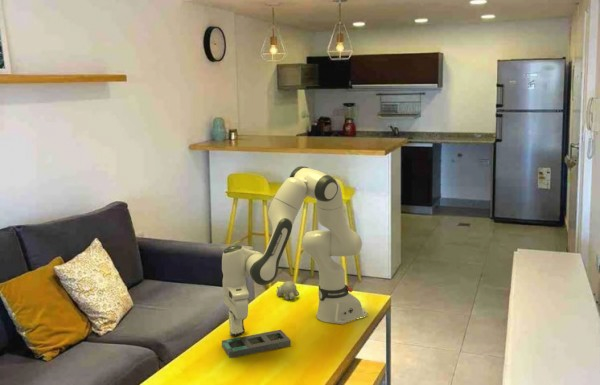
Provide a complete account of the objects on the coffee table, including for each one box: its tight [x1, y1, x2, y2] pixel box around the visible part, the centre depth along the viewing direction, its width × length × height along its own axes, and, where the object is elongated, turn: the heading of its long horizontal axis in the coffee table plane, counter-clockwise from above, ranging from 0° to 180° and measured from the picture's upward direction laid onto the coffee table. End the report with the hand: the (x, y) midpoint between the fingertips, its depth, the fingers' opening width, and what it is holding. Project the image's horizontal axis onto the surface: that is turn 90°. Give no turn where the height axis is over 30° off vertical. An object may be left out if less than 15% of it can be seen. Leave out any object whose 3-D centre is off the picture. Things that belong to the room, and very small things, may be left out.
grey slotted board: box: [221, 329, 292, 359], centre depth 237 cm, size 25×11×3 cm, turn 112°
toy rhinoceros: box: [275, 280, 300, 301], centre depth 287 cm, size 7×12×8 cm, turn 51°
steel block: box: [228, 310, 243, 334], centre depth 231 cm, size 4×4×8 cm
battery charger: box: [228, 319, 246, 337], centre depth 248 cm, size 7×4×11 cm, turn 140°
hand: (235, 322), depth 231 cm, fingers closed on steel block, 4 cm apart
